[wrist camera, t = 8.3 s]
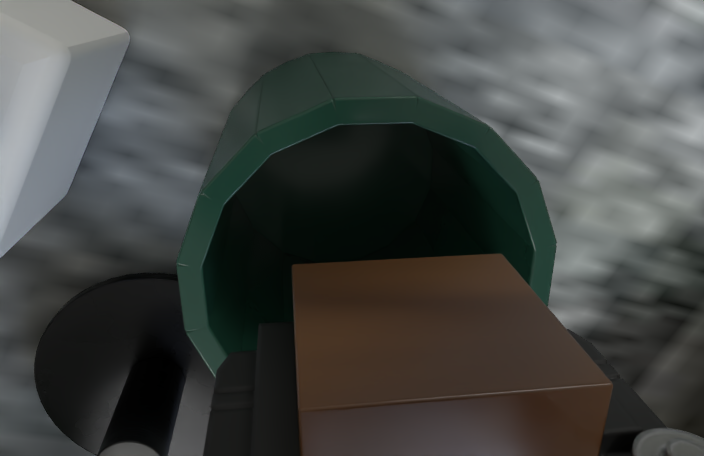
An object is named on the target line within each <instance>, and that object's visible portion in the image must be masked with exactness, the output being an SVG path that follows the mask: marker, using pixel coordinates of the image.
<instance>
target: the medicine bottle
mask: <svg viewBox="0 0 704 456" xmlns="http://www.w3.org/2000/svg"><path fill="white" fill-rule="evenodd" d="M129 43H130V36H129V33H128V31H126V30H125V29H124V28H123V27H121V26H119V25H117V24H115V23H113V22H111V21H109V20H108V19H106V18H104V17H102V16H100V15H98V14H96V13H94V12H92V11H90V10H88V9H87V8H85V7H83V6H81V5H79V4H77V3H75V2H73V1H71V0H0V258H1V257H2V256H3V255H4V254H5V253H6V252H7V251H8V250H9V249H10V248H11V247H12V246H14V245H15V244H16V243H17V242H18V241H19V240H20V239H21V238H22V237H23V236H24V235H25V234H26V233H27V232H28V231H29V230H30V229H31V228H32V227H33V226H34V225H35V224H37V223H38V222H39V221H40V220H41V219H42V218H43V217H44V216H45V215H46V214H47V213H48V212H49V211H50V210H51V209H52V208H53V207H54V206H55V205H56V204H57V203H59V202H60V201H61V200H62V199H63V198H64V197H65V196H66V194H67V193H68V191H69V188H70V186H71V183H72V181H73V178H74V176H75V174H76V171H77V169H78V166H79V164H80V162H81V159H82V157H83V154H84V152H85V149H86V147H87V145H88V142H89V140H90V137H91V135H92V132H93V130H94V128H95V125H96V123H97V120H98V118H99V115H100V113H101V111H102V108H103V106H104V103H105V101H106V99H107V96H108V94H109V91H110V89H111V86H112V84H113V82H114V79H115V77H116V74H117V72H118V69H119V67H120V65H121V62H122V60H123V57H124V55H125V53H126V50H127V48H128V45H129Z"/></svg>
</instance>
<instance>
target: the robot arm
mask: <svg viewBox="0 0 704 456" xmlns="http://www.w3.org/2000/svg"><path fill="white" fill-rule="evenodd" d="M567 331H568V332H569V333H570V334H571V335H572V336H573V338H574V339H575V340H576V341H577V342H578V343H579V345H580V346H581V347H582V348H583V349H584V350H585V352H586V353H587V354H588V355H589V356H590V357H591V359H592V360H593V361H594V362H595V363H596V364H597V366H598V367H599V368H600V369H601V370H602V371H603V373H604V374H605V375H606V376H607V377H608V378H609V380H610V381H611V382H612V384H613V390H612V395H611V400H610V404H609V409H608V414H607V419H606V423H605V428H604V433H603V438H602V443H601V447H600V452H599V456H704V439H703V438H701V437H699V436H696V435H694V434H691V433H688V432H685V431H681V430H677V429H670V428H667V427H666V426H665V425H664V424H663V423H662V422H661V420H660V419H659V418H658V417H657V416H656V415H655V414H654V413H653V411H652V410H651V409H650V408H649V407H648V406H647V405H646V404H645V403H644V401H643V400H642V399H641V398H640V397H639V396H638V395H637V394H636V392H635V391H634V390H633V389H632V388H631V387H630V386H629V385H628V384H627V382H626V381H625V380H624V379H620V375H619V374H618V372H617V371H616V370H615V369H614V368H613V367H612V366H611V365H610V364H607V360H606V359H605V358H604V357H603V356H602V355H601V353H600V352H599V351H598V350H597V349H596V348H595V347H594V346H593V344H592V343H590V342H589V341H587V340H585V339H584V338H582V337H580V336H579V335H577V334H575V333H574V332H572V331H570V330H569V329H567ZM203 456H300V448H299V427H298V405H297V383H296V361H295V338H294V321H291V322H275V323H260V324H259V325H258V340H257V350H253V351H239V352H231V353H230V354H229V355H228V356H227V358H226V359H225V360H224V361H223V363H222V364H221V365H220V366H219V368H218V369H217V372H216V378H215V384H214V394H213V396H212V402H211V411H210V415H209V421H208V427H207V433H206V439H205V445H204V452H203Z"/></svg>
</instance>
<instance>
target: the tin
mask: <svg viewBox="0 0 704 456" xmlns="http://www.w3.org/2000/svg"><path fill="white" fill-rule="evenodd" d="M556 243H557V242H556V238H555V235H554V231H553V228H552V224H551V221H550V217H549V214H548V211H547V207H546V204H545V200H544V197H543V193H542V190H541V186H540V183H539V181H538V180H537V178H536V176H535V175H534V174H533V173H532V172H531V170H530V169H529V168H528V167H527V166H526V165H525V164H524V163H523V162H522V161H521V159H520V158H519V157H518V156H517V155H516V154H515V153H514V152H513V151H512V149H511V148H510V147H509V146H508V145H507V144H506V143H505V142H504V141H503V140H502V138H501V137H500V136H499V135H498V134H497V133H496V132H495V131H494V130H493V128H491V127H490V126H488V125H487V124H486V123H484V122H482V121H481V120H479V119H477V118H476V117H474V116H473V115H471V114H469V113H468V112H466V111H464V110H463V109H461V108H460V107H458V106H456V105H455V104H453V103H451V102H450V101H448V100H447V99H445V98H443V97H442V96H440V95H438V94H437V93H435V92H434V91H432V90H430V89H429V88H427V87H425V86H424V85H422V84H421V83H419V82H417V81H416V80H414V79H412V78H411V77H409V76H408V75H406V74H404V73H403V72H401V71H399V70H397V69H395V68H392V67H390V66H387V65H385V64H383V63H381V62H379V61H377V60H374V59H371V58H369V57H366V56H364V55H361V54H357V53H341V52H326V53H313V54H307V55H305V56H302V57H299V58H296V59H294V60H291V61H288V62H286V63H284V64H282V65H280V66H278V67H276V68H274V69H273V70H271V71H269V72H267V73H265V75H262V77H261V78H260V79H259V80H258V81H257V82H256V83H255V84H254V85H253V86H252V87H251V88H250V89H248V91H247V92H246V93H245V94H244V96H243V97H242V98H241V100H240V101H239V102H238V103H237V104H236V105H235V106H234V107H233V109H232V110H231V112H230V115H229V117H228V120H227V123H226V125H225V128H224V130H223V133H222V135H221V138H220V141H219V143H218V146H217V148H216V151H215V153H214V156H213V158H212V161H211V164H210V166H209V169H208V171H207V174H206V176H205V179H204V182H203V184H202V187H201V189H200V192H199V194H198V197H197V200H196V203H195V206H194V209H193V212H192V215H191V218H190V221H189V224H188V227H187V230H186V233H185V236H184V239H183V242H182V245H181V248H180V251H179V254H178V257H177V260H176V263H177V265H176V269H177V277H178V285H179V292H180V300H181V308H182V315H183V323H184V329H185V331H186V334H187V336H188V337H189V339H190V340H191V342H192V344H193V345H194V347H195V348H196V350H197V351H198V353H199V354H200V356H201V358H202V359H203V361H204V362H205V364H206V365H207V367H208V368H209V370H210V371H211V373H212V375H213V376H214V378H216V372H217V369H218V368H219V366H220V365H221V364H222V363H223V361H224V360H225V359H226V358H227V356H228V355H229V354H230V353H231V352H239V351H253V350H257V340H258V325H259V324H260V323H275V322H291V321H294V316H293V294H292V271H291V267H292V265H294V264H311V263H330V262H349V261H368V260H387V259H405V258H424V257H443V256H462V255H481V254H502V255H503V256H504V257H505V258H506V259H507V260H508V262H509V263H510V264H511V265H512V266H513V267H514V269H515V270H516V271H517V272H518V273H519V274H520V276H521V277H522V278H523V279H524V280H525V281H526V283H527V284H528V285H529V286H530V287H531V288H532V290H533V291H534V292H535V293H536V294H537V296H538V297H539V298H540V299H541V300H542V301H543V303H544V304H545V305H546V306H548V300H549V294H550V287H551V280H552V273H553V266H554V260H555V253H556Z"/></svg>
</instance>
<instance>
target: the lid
mask: <svg viewBox="0 0 704 456" xmlns="http://www.w3.org/2000/svg"><path fill="white" fill-rule="evenodd" d="M34 373H35V382H36V388H37V392H38V395H39V397H40V400H41V403H42V405H43V407H44V408H45V410H46V412H47V414H48V415H49V417H50V418H51V419H52V421H53V422H54V424H55V425H56V426H57V427H58V428H59V429H60V430H61V431H62V432H63V433H64V434H65V435H66V436H67V437H69V438H70V439H71V440H72V441H73V442H75V443H76V444H78V445H79V446H81V447H82V448H84V449H85V450H87V451H89V452H91V453H93V454H95V455H97V456H203V452H204V445H205V439H206V433H207V427H208V421H209V415H210V411H211V402H212V396H213V394H214V384H215V378H214V376H213V375H212V373H211V371H210V370H209V368H208V367H207V365H206V364H205V362H204V361H203V359H202V358H201V356H200V354H199V353H198V351H197V350H196V348H195V347H194V345H193V344H192V342H191V340H190V339H189V337H188V336H187V334H186V331H185V329H184V323H183V315H182V308H181V300H180V292H179V285H178V277H177V275H174V274H165V273H138V274H129V275H124V276H119V277H115V278H111V279H108V280H106V281H103V282H100V283H97V284H95V285H93V286H91V287H89V288H87V289H85V290H84V291H82V292H81V293H79V294H78V295H76V296H75V297H73V298H72V299H71V300H70V301H68V302H67V303H66V304H65V305H64V306H63V307H62V308H61V309H60V310H59V311H58V313H57V314H56V315H55V317H54V318H53V319H52V320H51V322H50V323H49V325H48V326H47V328H46V330H45V332H44V333H43V335H42V337H41V339H40V342H39V345H38V348H37V351H36V357H35V363H34Z"/></svg>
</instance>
